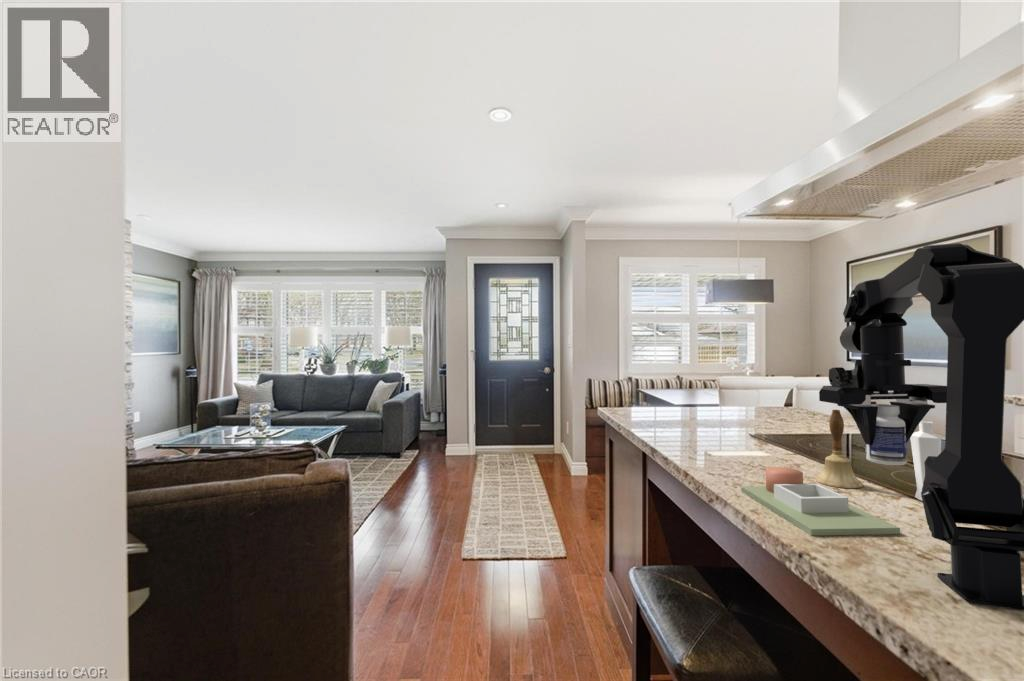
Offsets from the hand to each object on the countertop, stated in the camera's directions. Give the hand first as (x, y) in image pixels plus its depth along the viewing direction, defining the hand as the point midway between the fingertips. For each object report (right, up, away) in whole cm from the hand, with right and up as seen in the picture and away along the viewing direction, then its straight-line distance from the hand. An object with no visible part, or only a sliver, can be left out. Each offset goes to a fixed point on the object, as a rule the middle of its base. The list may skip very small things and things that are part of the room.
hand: (885, 444), depth 76 cm
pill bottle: (0, -3, 0) cm, 3 cm away
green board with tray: (-10, -13, +5) cm, 17 cm away
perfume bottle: (+16, -13, +9) cm, 22 cm away
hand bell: (+7, -14, +20) cm, 25 cm away
